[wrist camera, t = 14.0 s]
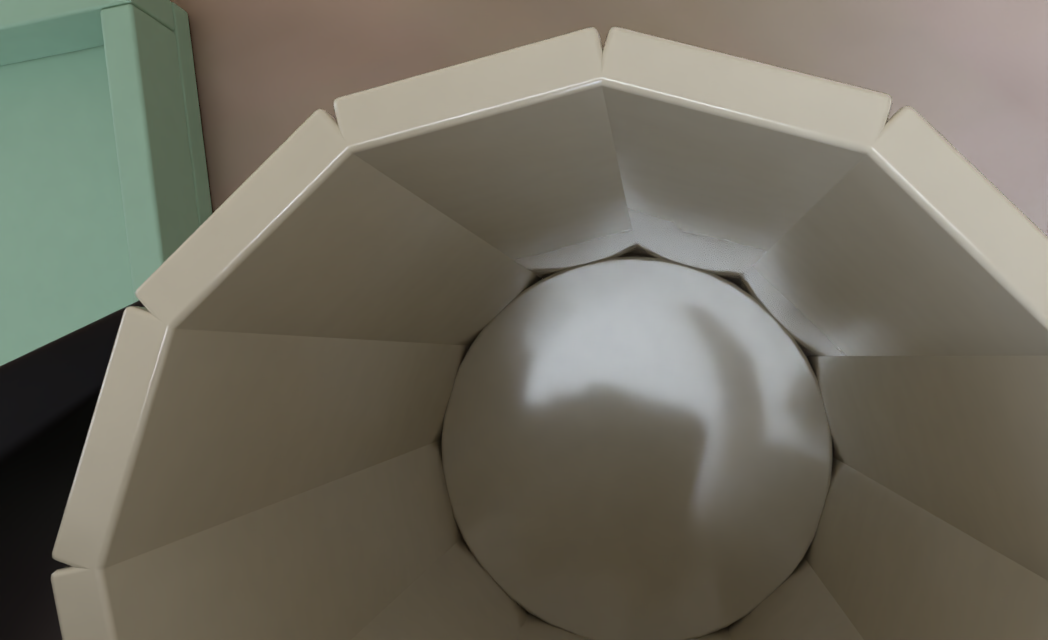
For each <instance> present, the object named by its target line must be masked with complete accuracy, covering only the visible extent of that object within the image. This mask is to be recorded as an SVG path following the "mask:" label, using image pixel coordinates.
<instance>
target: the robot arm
mask: <svg viewBox="0 0 1048 640" xmlns="http://www.w3.org/2000/svg"><path fill="white" fill-rule="evenodd" d="M129 306H139V307H145V306H144V305H143V304H142V303H141V302H140V301H137V302H135V303H132V304H130V305H128V306H126V307H129ZM126 307H124V308H122V309H120V310H118V311H116V312H113V313H111V314H109V315H107V316H105V317H103V318H101V319H99V320H97V321H94V322H92V323H90V324H88V325H86V326H84V327H82V328H80V329H78V330H75V331H73V332H71V333H69V334H67V335H65V336H63V337H61V338H59V339H56V340H54V341H52V342H50V343H48V344H46V345H44V346H42V347H39V348H37V349H35V350H33V351H31V352H29V353H27V354H25V355H23V356H20V357H18V358H16V359H14V360H12V361H10V362H8V363H6V364H4V365H1V366H0V640H62V635H61V630H60V625H59V619H58V614H57V609H56V604H55V599H54V594H53V588H52V583H51V574H52V573H53V572H54V571H56V570H57V569H60V568H63V567H66V566H69V565H67V564H65V563H62V562H59V561H57V560H54V559H53V558H52V551H53V548H54V545H55V541H56V538H57V534H58V531H59V528H60V524H61V521H62V518H63V514H64V511H65V508H66V504H67V501H68V497H69V494H70V491H71V487H72V484H73V481H74V477H75V474H76V471H77V467H78V464H79V460H80V457H81V454H82V450H83V447H84V444H85V440H86V437H87V434H88V430H89V427H90V423H91V420H92V417H93V413H94V410H95V407H96V403H97V400H98V397H99V393H100V390H101V387H102V383H103V380H104V376H105V373H106V370H107V366H108V363H109V360H110V356H111V353H112V350H113V346H114V343H115V339H116V336H117V333H118V329H119V326H120V323H121V319H122V316H123V313H124V310H125V309H126Z"/></svg>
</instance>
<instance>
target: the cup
mask: <svg viewBox="0 0 1048 640" xmlns="http://www.w3.org/2000/svg"><path fill="white" fill-rule="evenodd" d="M891 106H892V97H891V96H890V95H888V94H887V93H882V92H878V91H874V90H870V89H866V88H862V87H858V86H854V85H850V84H846V83H842V82H838V81H834V80H830V79H826V78H822V77H818V76H814V75H810V74H806V73H802V72H798V71H794V70H790V69H786V68H782V67H778V66H774V65H770V64H766V63H762V62H758V61H754V60H750V59H746V58H742V57H738V56H734V55H730V54H726V53H722V52H718V51H714V50H710V49H706V48H701V47H697V46H693V45H689V44H685V43H681V42H677V41H673V40H669V39H665V38H661V37H657V36H653V35H649V34H645V33H641V32H637V31H633V30H629V29H625V28H621V27H612V28H611V29H610V30H609V32H608V34H607V37H606V41H605V44H604V48H603V47H602V43H601V39H600V35H599V32H598V31H597V29H596V28H594V27H588V28H585V29H581V30H578V31H574V32H571V33H567V34H563V35H560V36H556V37H553V38H549V39H546V40H542V41H538V42H535V43H531V44H528V45H524V46H521V47H517V48H513V49H510V50H506V51H503V52H499V53H496V54H492V55H488V56H485V57H481V58H478V59H474V60H471V61H467V62H463V63H460V64H456V65H453V66H449V67H446V68H442V69H438V70H435V71H431V72H428V73H424V74H421V75H417V76H413V77H410V78H406V79H403V80H399V81H396V82H392V83H388V84H385V85H381V86H378V87H374V88H371V89H367V90H363V91H360V92H356V93H353V94H349V95H346V96H342V97H339V98H337V99H335V100H334V106H333V107H334V111H335V116H336V118H335V117H334V116H332V115H331V114H329V113H328V112H327V111H325V110H323V109H318V110H316V111H315V112H314V113H313V114H312V115H311V116H310V117H309V118H308V119H307V120H306V121H305V122H304V123H303V124H302V125H301V126H300V127H299V128H298V129H297V130H296V131H295V132H294V133H293V134H292V135H291V136H290V137H289V138H288V139H287V140H286V141H285V142H284V143H283V144H282V145H281V146H280V147H279V148H278V149H277V150H276V151H275V152H274V153H273V154H272V155H271V156H270V157H269V158H268V159H267V160H266V161H265V162H264V163H263V164H262V165H261V166H260V167H259V168H258V169H257V170H256V171H255V172H254V173H253V174H252V175H251V176H250V177H249V178H248V179H247V180H246V181H245V182H244V183H243V184H242V185H241V186H240V187H239V188H238V189H237V190H236V191H235V192H234V193H233V194H232V195H231V196H230V197H229V198H228V199H227V200H226V201H225V202H224V203H223V204H222V205H221V206H220V207H219V208H218V209H217V210H216V211H215V212H214V213H213V214H212V215H211V216H210V217H209V218H208V219H207V220H206V221H205V222H204V223H203V224H202V225H201V226H200V227H199V228H198V229H197V230H196V231H195V232H194V233H193V234H192V235H191V236H190V237H189V238H188V239H187V240H186V241H185V242H184V243H183V244H182V245H181V246H180V247H179V248H178V249H177V250H176V251H175V252H174V253H173V254H172V255H171V256H170V257H169V258H168V259H167V260H166V261H165V262H164V263H163V264H162V265H161V266H160V267H159V268H158V269H157V270H156V271H155V272H154V273H153V274H152V275H151V276H150V277H149V278H148V279H147V280H146V281H145V282H144V283H143V284H142V285H141V286H140V287H139V288H138V289H137V290H136V292H135V295H136V297H137V298H138V299H139V301H140V302H141V303H142V304H143V305H144V306H145V307H139V306H129V307H126V309H125V310H124V313H123V316H122V319H121V323H120V326H119V329H118V333H117V336H116V339H115V343H114V346H113V350H112V353H111V356H110V360H109V363H108V366H107V370H106V373H105V376H104V380H103V383H102V387H101V390H100V393H99V397H98V400H97V403H96V407H95V410H94V413H93V417H92V420H91V423H90V427H89V430H88V434H87V437H86V440H85V444H84V447H83V450H82V454H81V457H80V460H79V464H78V467H77V471H76V474H75V477H74V481H73V484H72V487H71V491H70V494H69V497H68V501H67V504H66V508H65V511H64V514H63V518H62V521H61V524H60V528H59V531H58V534H57V538H56V541H55V545H54V548H53V551H52V558H53V559H54V560H57V561H59V562H62V563H65V564H67V565H69V566H66V567H63V568H60V569H57V570H56V571H54V572H53V573H52V574H51V583H52V588H53V594H54V599H55V604H56V609H57V614H58V619H59V625H60V630H61V635H62V640H1048V237H1047V236H1046V235H1045V234H1044V233H1043V232H1042V231H1041V230H1040V229H1039V228H1038V227H1037V226H1036V225H1035V224H1034V223H1033V222H1032V221H1031V220H1030V219H1029V218H1028V217H1027V216H1025V215H1024V214H1023V213H1022V212H1021V211H1020V210H1019V209H1018V208H1017V207H1016V206H1015V205H1014V204H1013V203H1012V202H1011V201H1010V200H1009V199H1008V198H1007V197H1006V196H1005V195H1004V194H1003V193H1001V192H1000V191H999V190H998V189H997V188H996V187H995V186H994V185H993V184H992V183H991V182H990V181H989V180H988V179H987V178H986V177H985V176H984V175H983V174H982V173H981V172H980V171H978V170H977V169H976V168H975V167H974V166H973V165H972V164H971V163H970V162H969V161H968V160H967V159H966V158H965V157H964V156H963V155H962V154H961V153H960V152H959V151H958V150H957V149H956V148H954V147H953V146H952V145H951V144H950V143H949V142H948V141H947V140H946V139H945V138H944V137H943V136H942V135H941V134H940V133H939V132H938V131H937V130H936V129H935V128H934V127H933V126H932V125H930V124H929V123H928V122H927V121H926V120H925V119H924V118H923V117H922V116H921V115H920V114H919V113H918V112H917V111H916V110H915V109H914V108H912V107H910V106H905V107H902V108H901V109H900V110H899V111H897V112H896V113H895V114H894V115H893V116H892V117H891V118H890V119H889V120H888V116H889V113H890V110H891ZM887 120H888V121H887ZM636 255H639V256H636ZM732 282H734V283H735V284H734V283H732Z"/></svg>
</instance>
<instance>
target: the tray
mask: <svg viewBox="0 0 1048 640" xmlns="http://www.w3.org/2000/svg"><path fill="white" fill-rule="evenodd" d="M211 215H212V206H211V198H210V190H209V182H208V174H207V166H206V158H205V150H204V142H203V134H202V126H201V118H200V110H199V102H198V94H197V86H196V78H195V70H194V62H193V53H192V45H191V37H190V29H189V21H188V14H187V12H186V11H184V10H183V9H182V8H180V7H179V6H178V5H176V4H175V3H173V2H170V0H0V366H1V365H4V364H6V363H8V362H10V361H12V360H14V359H16V358H18V357H20V356H23V355H25V354H27V353H29V352H31V351H33V350H35V349H37V348H39V347H42V346H44V345H46V344H48V343H50V342H52V341H54V340H56V339H59V338H61V337H63V336H65V335H67V334H69V333H71V332H73V331H75V330H78V329H80V328H82V327H84V326H86V325H88V324H90V323H92V322H94V321H97V320H99V319H101V318H103V317H105V316H107V315H109V314H111V313H113V312H116V311H118V310H120V309H122V308H124V307H126V306H128V305H130V304H132V303H135V302H137V301H139V299H138V298H137V297H136V295H135V292H136V290H137V289H138V288H139V287H140V286H141V285H142V284H143V283H144V282H145V281H146V280H147V279H148V278H149V277H150V276H151V275H152V274H153V273H154V272H155V271H156V270H157V269H158V268H159V267H160V266H161V265H162V264H163V263H164V262H165V261H166V260H167V259H168V258H169V257H170V256H171V255H172V254H173V253H174V252H175V251H176V250H177V249H178V248H179V247H180V246H181V245H182V244H183V243H184V242H185V241H186V240H187V239H188V238H189V237H190V236H191V235H192V234H193V233H194V232H195V231H196V230H197V229H198V228H199V227H200V226H201V225H202V224H203V223H204V222H205V221H206V220H207V219H208V218H209V217H210V216H211Z"/></svg>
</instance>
